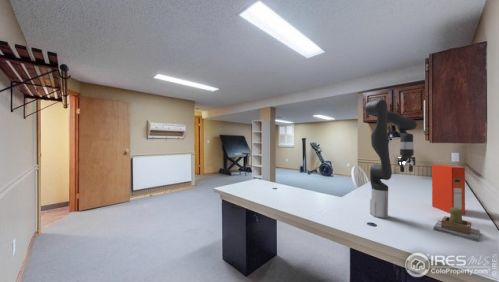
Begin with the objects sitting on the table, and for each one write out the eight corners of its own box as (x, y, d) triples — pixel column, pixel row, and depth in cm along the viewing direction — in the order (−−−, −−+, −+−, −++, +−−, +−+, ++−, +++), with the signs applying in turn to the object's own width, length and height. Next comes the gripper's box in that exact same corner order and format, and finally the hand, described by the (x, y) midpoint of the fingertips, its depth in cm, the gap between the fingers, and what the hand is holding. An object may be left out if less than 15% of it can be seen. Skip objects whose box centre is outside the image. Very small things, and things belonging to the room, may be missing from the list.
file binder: (451, 214, 133) (451, 167, 133) (431, 206, 150) (432, 164, 150) (465, 215, 132) (465, 167, 132) (443, 207, 149) (443, 164, 149)
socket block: (477, 241, 95) (477, 230, 95) (433, 229, 108) (433, 219, 108) (479, 232, 105) (479, 222, 105) (438, 222, 118) (438, 213, 118)
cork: (444, 226, 110) (445, 206, 110) (454, 225, 110) (454, 206, 110) (457, 230, 103) (457, 210, 104) (467, 230, 104) (467, 209, 104)
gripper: (405, 148, 131) (405, 173, 131) (419, 148, 135) (419, 172, 135) (393, 148, 138) (393, 171, 138) (407, 148, 142) (407, 170, 142)
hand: (406, 171), depth 136 cm, fingers open, 8 cm apart
